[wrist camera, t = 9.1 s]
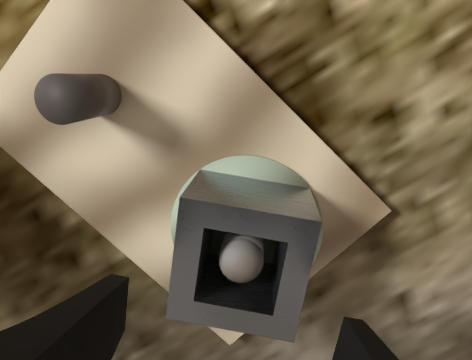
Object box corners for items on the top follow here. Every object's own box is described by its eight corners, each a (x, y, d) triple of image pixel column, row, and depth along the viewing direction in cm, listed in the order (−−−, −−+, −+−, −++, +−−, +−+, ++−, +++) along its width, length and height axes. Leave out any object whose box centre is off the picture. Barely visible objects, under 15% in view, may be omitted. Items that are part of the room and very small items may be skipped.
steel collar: (187, 267, 20) (165, 318, 16) (200, 169, 19) (179, 197, 14) (288, 285, 20) (293, 342, 16) (309, 188, 19) (322, 221, 14)
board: (-19, 116, 20) (-119, 130, 15) (114, -70, 17) (47, -133, 12) (231, 333, 23) (220, 411, 18) (385, 204, 20) (428, 250, 15)
